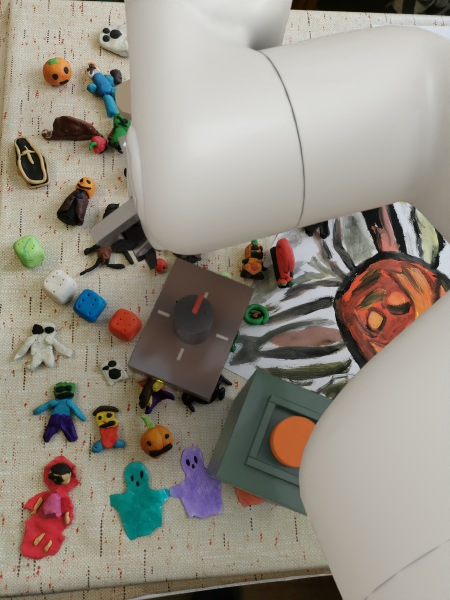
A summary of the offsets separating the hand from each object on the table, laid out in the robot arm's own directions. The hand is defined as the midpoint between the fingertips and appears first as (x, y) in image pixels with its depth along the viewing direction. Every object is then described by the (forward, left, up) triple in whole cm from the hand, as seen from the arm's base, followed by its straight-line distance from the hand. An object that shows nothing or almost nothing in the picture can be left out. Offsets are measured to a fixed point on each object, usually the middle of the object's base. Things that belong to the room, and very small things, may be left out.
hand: (194, 232), depth 51 cm
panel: (-4, -2, -18) cm, 19 cm away
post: (-14, -14, -18) cm, 27 cm away
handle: (+14, +11, -19) cm, 25 cm away
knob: (-4, -2, -15) cm, 16 cm away
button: (-14, -14, +4) cm, 20 cm away
